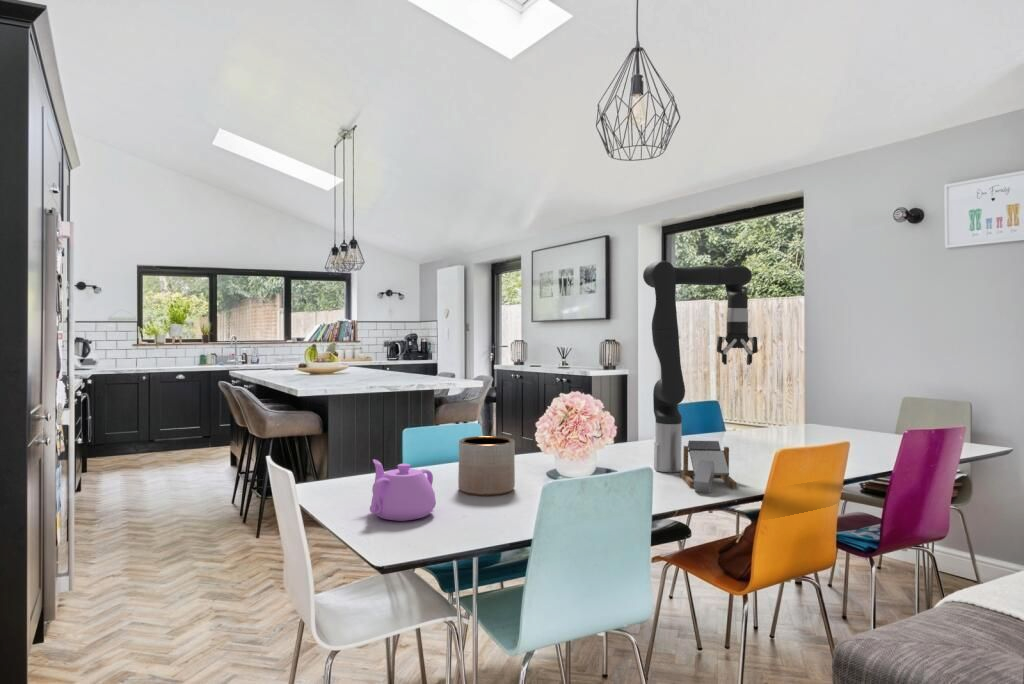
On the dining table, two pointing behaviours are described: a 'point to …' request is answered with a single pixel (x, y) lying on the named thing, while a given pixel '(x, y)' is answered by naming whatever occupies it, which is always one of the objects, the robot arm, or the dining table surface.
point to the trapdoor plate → (708, 455)
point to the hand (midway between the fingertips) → (736, 364)
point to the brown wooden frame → (687, 473)
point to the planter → (486, 465)
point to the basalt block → (704, 476)
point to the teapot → (402, 493)
